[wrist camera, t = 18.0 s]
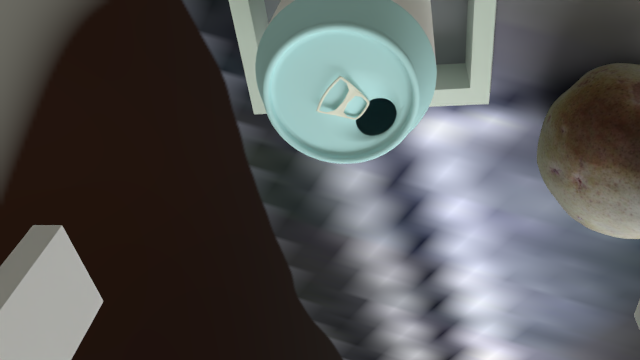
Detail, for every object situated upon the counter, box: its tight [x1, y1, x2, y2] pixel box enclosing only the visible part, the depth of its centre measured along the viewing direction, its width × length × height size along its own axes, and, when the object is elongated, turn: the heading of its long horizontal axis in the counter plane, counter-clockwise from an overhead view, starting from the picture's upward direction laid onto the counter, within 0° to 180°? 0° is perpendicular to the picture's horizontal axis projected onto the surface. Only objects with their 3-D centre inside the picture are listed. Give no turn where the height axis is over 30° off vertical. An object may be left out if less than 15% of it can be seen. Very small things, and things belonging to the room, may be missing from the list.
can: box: [255, 0, 437, 164], centre depth 24 cm, size 7×7×12 cm
